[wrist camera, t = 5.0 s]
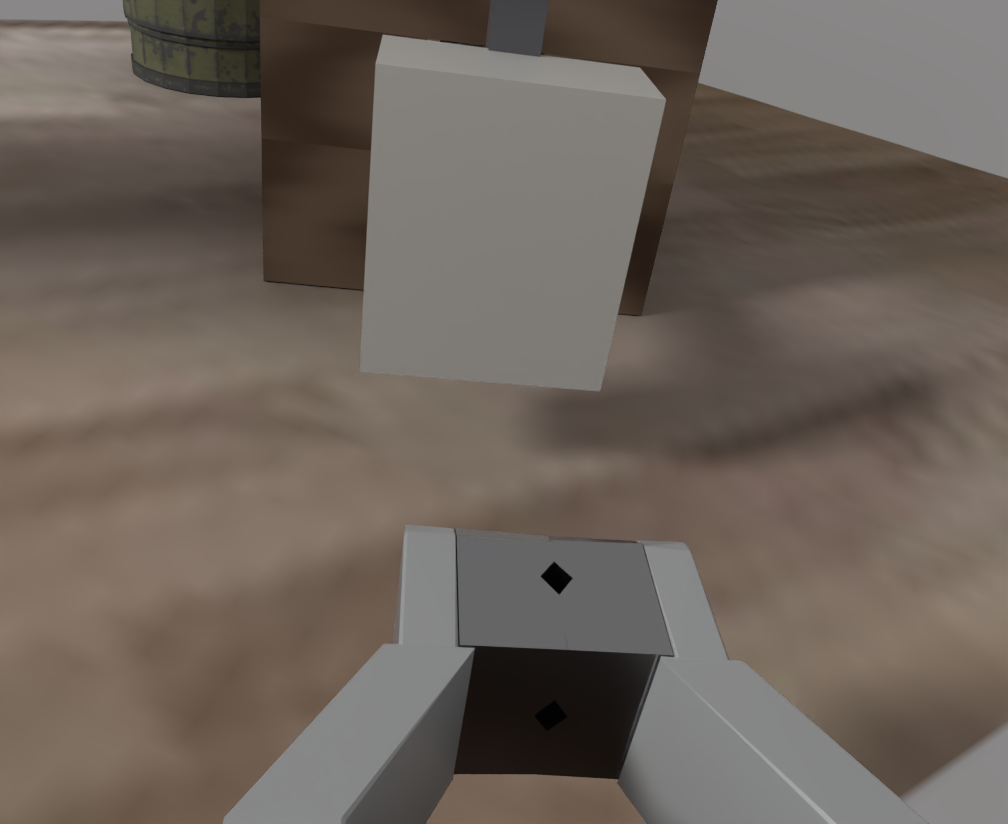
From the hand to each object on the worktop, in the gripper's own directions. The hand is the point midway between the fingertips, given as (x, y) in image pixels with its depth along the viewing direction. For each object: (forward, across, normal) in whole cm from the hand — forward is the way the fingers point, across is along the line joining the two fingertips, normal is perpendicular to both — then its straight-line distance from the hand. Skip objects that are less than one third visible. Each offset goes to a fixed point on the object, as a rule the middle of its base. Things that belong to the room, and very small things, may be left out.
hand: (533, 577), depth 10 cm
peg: (+17, 0, +3) cm, 17 cm away
